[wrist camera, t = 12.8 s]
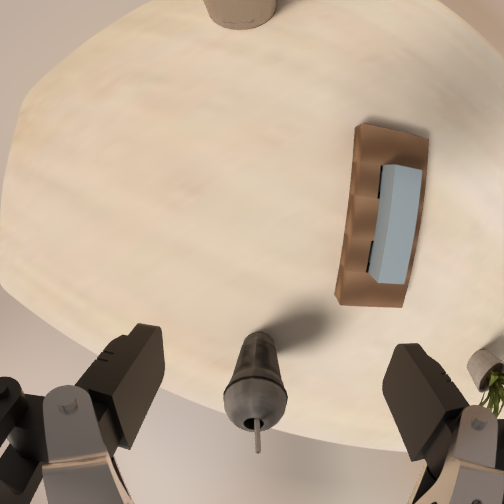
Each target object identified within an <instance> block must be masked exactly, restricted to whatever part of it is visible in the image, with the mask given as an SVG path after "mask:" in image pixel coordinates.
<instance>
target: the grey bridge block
mask: <svg viewBox="0 0 504 504" xmlns="http://www.w3.org/2000/svg"><path fill="white" fill-rule="evenodd" d="M421 179H422V170H419V169H414V168H409V167H405V166H400V165H383V170H382V172H380V179H379V188H378V191H379V192H380V200H379V208H378V216H377V223H376V230H375V237H374V242H371V246H370V252H369V258H368V262H369V263H370V266H369V271H368V273H369V274H370V275H371V276H372V277H373V278H374V279H375V280H376V281H377V282H378V283H389V284H404V283H405V279H406V274H407V270H408V265H409V260H410V255H411V250H412V245H413V239H414V233H415V227H416V221H417V214H418V206H419V198H420V189H421Z"/></svg>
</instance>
